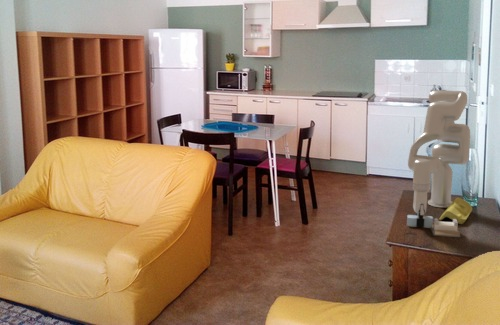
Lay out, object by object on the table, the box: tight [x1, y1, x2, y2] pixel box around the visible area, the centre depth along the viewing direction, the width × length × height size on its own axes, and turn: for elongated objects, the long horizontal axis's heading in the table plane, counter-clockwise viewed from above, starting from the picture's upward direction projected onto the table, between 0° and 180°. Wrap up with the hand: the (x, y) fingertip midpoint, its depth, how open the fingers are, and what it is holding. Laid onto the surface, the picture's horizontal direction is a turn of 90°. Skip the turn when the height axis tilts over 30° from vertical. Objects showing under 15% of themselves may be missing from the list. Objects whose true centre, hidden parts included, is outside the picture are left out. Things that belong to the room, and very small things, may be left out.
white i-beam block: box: [433, 217, 459, 231], centre depth 226 cm, size 5×9×5 cm, turn 77°
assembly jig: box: [430, 222, 461, 238], centre depth 226 cm, size 10×11×3 cm
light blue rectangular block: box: [406, 214, 434, 229], centre depth 235 cm, size 4×11×4 cm, turn 73°
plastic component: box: [438, 196, 473, 225], centre depth 245 cm, size 20×7×10 cm
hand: (419, 224), depth 236 cm, fingers closed on light blue rectangular block, 4 cm apart
